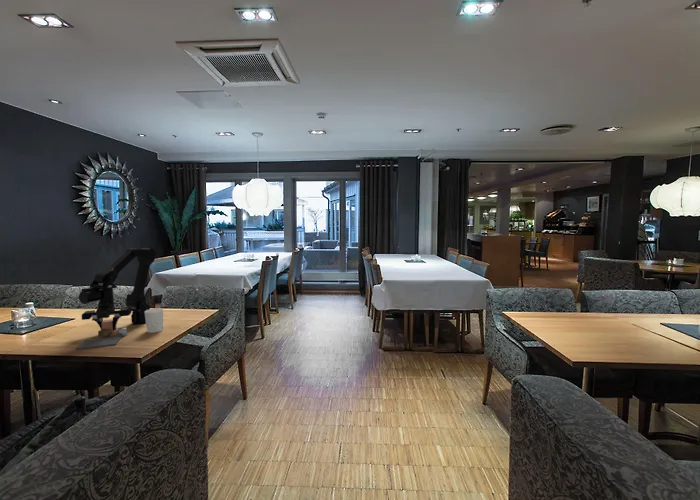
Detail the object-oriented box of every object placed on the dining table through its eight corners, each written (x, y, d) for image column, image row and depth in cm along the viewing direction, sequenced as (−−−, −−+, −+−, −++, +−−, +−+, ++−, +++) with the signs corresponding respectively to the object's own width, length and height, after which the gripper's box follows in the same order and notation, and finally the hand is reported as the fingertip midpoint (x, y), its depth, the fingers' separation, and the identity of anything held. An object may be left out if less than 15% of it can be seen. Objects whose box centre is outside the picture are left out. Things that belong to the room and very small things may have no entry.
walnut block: (111, 336, 162) (111, 328, 162) (106, 338, 158) (105, 331, 158) (103, 336, 162) (103, 328, 161) (98, 338, 158) (98, 331, 158)
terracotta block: (114, 331, 168) (113, 319, 168) (112, 333, 165) (111, 321, 164) (104, 332, 167) (104, 320, 166) (102, 335, 163) (101, 322, 162)
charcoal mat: (121, 337, 160) (121, 336, 160) (115, 345, 151) (115, 343, 151) (84, 341, 155) (84, 340, 155) (76, 349, 146) (76, 348, 145)
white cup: (167, 329, 172) (166, 309, 171) (154, 334, 164) (153, 313, 163) (155, 327, 174) (154, 307, 173) (141, 332, 167) (140, 312, 166)
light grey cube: (127, 334, 165) (127, 326, 164) (126, 336, 161) (126, 328, 161) (118, 335, 163) (118, 327, 163) (117, 337, 160) (116, 329, 160)
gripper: (75, 304, 153) (78, 339, 155) (125, 301, 160) (127, 334, 161) (84, 299, 163) (87, 331, 165) (130, 295, 170) (132, 326, 172)
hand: (108, 330), depth 166 cm, fingers closed on terracotta block, 4 cm apart
